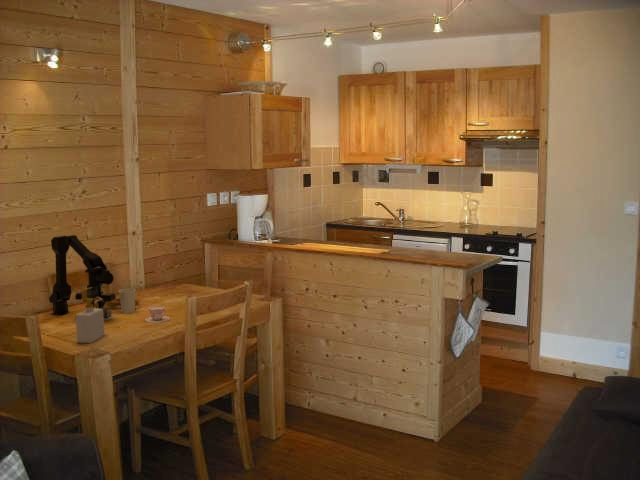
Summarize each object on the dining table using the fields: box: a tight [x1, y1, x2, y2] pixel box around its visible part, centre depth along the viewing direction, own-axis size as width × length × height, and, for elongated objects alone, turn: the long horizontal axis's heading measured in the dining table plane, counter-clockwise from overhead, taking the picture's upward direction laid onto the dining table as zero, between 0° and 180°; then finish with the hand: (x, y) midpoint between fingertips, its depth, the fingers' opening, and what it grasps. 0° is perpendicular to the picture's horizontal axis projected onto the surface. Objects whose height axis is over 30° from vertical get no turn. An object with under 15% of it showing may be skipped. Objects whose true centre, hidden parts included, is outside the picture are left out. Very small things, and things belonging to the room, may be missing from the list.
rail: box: [97, 305, 109, 315], centre depth 338 cm, size 4×15×4 cm, turn 166°
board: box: [104, 314, 118, 322], centre depth 339 cm, size 12×18×1 cm, turn 166°
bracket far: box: [103, 309, 112, 318], centre depth 342 cm, size 9×4×3 cm, turn 76°
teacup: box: [144, 305, 171, 324], centre depth 340 cm, size 12×12×6 cm
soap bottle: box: [75, 287, 105, 344], centre depth 307 cm, size 12×7×23 cm, turn 167°
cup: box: [118, 288, 136, 314], centre depth 351 cm, size 8×8×12 cm
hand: (96, 313), depth 338 cm, fingers closed on rail, 3 cm apart
